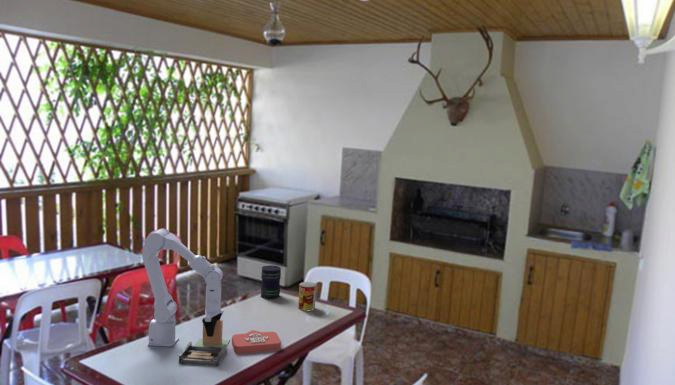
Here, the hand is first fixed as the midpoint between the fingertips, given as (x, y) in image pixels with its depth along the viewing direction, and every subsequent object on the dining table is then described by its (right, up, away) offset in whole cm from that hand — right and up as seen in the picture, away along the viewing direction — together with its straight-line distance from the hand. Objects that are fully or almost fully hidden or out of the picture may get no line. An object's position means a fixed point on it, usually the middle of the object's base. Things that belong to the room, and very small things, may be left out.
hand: (212, 333), depth 195 cm
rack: (-1, -6, -11) cm, 13 cm away
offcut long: (-1, -7, -15) cm, 16 cm away
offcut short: (-1, -6, -13) cm, 14 cm away
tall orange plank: (0, -4, 0) cm, 4 cm away
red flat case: (+16, -6, +3) cm, 17 cm away
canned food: (+34, -2, +47) cm, 58 cm away
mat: (0, -5, +1) cm, 4 cm away
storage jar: (+14, +1, +62) cm, 64 cm away
